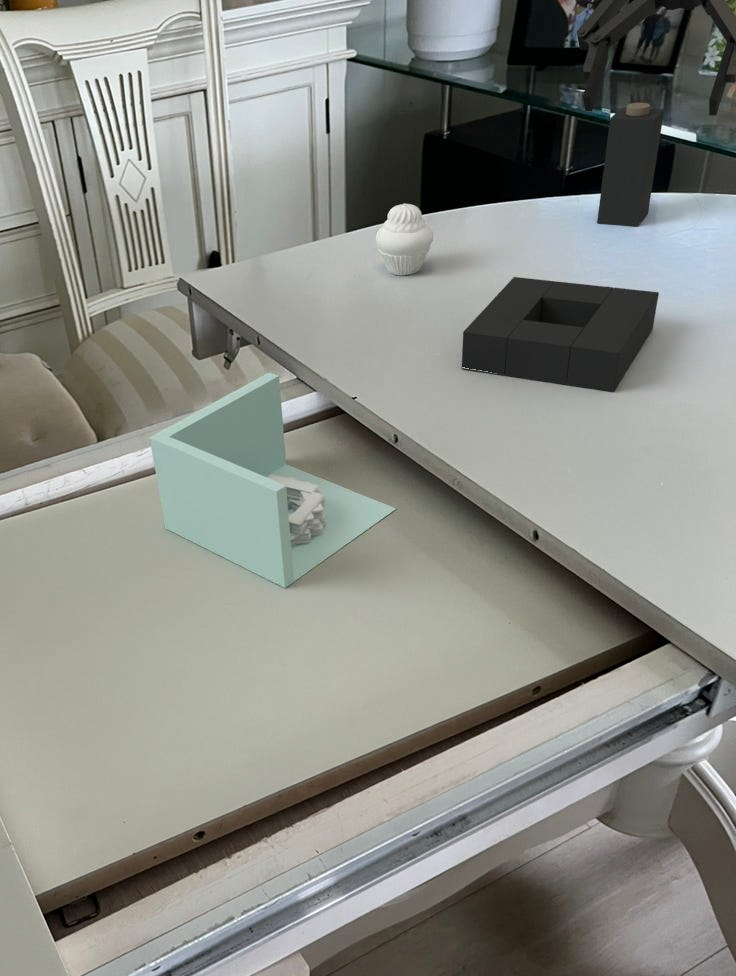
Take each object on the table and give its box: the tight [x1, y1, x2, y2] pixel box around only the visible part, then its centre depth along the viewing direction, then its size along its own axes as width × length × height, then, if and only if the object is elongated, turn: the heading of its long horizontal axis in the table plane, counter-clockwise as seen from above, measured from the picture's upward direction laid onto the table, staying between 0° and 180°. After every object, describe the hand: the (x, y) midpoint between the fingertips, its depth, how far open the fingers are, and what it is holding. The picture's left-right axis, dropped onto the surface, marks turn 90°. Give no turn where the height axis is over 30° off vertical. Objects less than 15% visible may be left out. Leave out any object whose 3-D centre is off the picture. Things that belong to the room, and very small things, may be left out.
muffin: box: [375, 202, 434, 276], centre depth 106 cm, size 6×6×7 cm
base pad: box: [461, 276, 660, 393], centre depth 89 cm, size 13×13×4 cm
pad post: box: [596, 102, 665, 227], centre depth 111 cm, size 5×5×12 cm
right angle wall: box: [149, 372, 397, 589], centre depth 71 cm, size 12×12×8 cm
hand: (648, 106), depth 112 cm, fingers open, 13 cm apart
